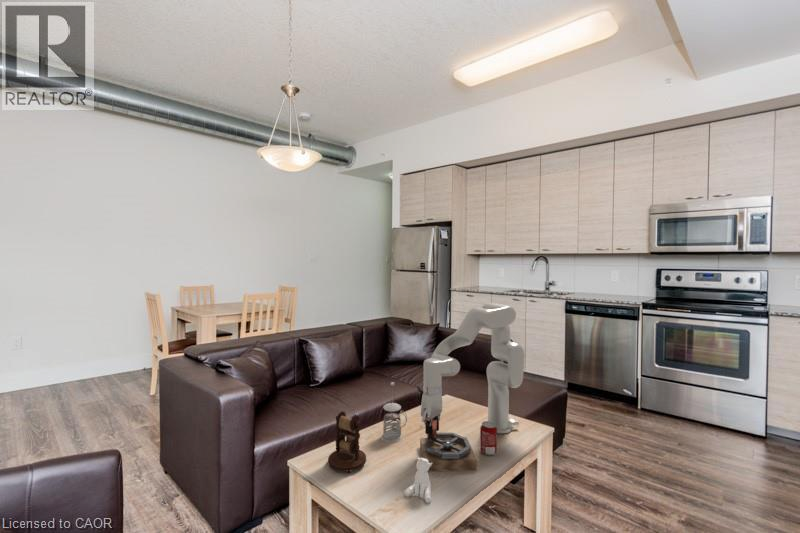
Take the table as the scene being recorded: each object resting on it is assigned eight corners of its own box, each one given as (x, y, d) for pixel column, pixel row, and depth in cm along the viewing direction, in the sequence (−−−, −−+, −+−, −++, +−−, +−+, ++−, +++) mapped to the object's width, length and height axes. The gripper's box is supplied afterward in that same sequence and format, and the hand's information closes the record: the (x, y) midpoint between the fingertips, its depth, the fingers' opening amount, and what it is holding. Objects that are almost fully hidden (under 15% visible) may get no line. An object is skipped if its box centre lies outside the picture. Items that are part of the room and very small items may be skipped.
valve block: (466, 446, 163) (466, 436, 163) (477, 470, 145) (477, 459, 145) (420, 447, 162) (420, 437, 162) (425, 471, 144) (425, 460, 144)
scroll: (373, 460, 151) (373, 411, 151) (350, 479, 138) (350, 425, 138) (344, 450, 159) (344, 403, 158) (320, 467, 146) (320, 416, 145)
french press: (383, 431, 176) (384, 377, 176) (408, 433, 174) (409, 379, 173) (378, 441, 167) (379, 385, 166) (404, 444, 165) (405, 387, 164)
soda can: (496, 457, 154) (497, 428, 154) (479, 455, 156) (480, 426, 155) (496, 449, 161) (496, 421, 161) (479, 447, 162) (480, 419, 162)
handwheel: (477, 447, 154) (478, 425, 154) (452, 464, 141) (452, 440, 141) (440, 432, 167) (441, 412, 166) (414, 446, 154) (414, 424, 154)
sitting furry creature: (403, 496, 129) (403, 461, 129) (412, 482, 137) (413, 450, 136) (429, 504, 125) (430, 468, 125) (437, 489, 133) (438, 456, 133)
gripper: (435, 381, 167) (435, 422, 168) (413, 392, 154) (413, 437, 154) (450, 385, 162) (450, 427, 163) (428, 397, 149) (428, 442, 150)
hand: (432, 431), depth 159 cm, fingers closed on handwheel, 4 cm apart
